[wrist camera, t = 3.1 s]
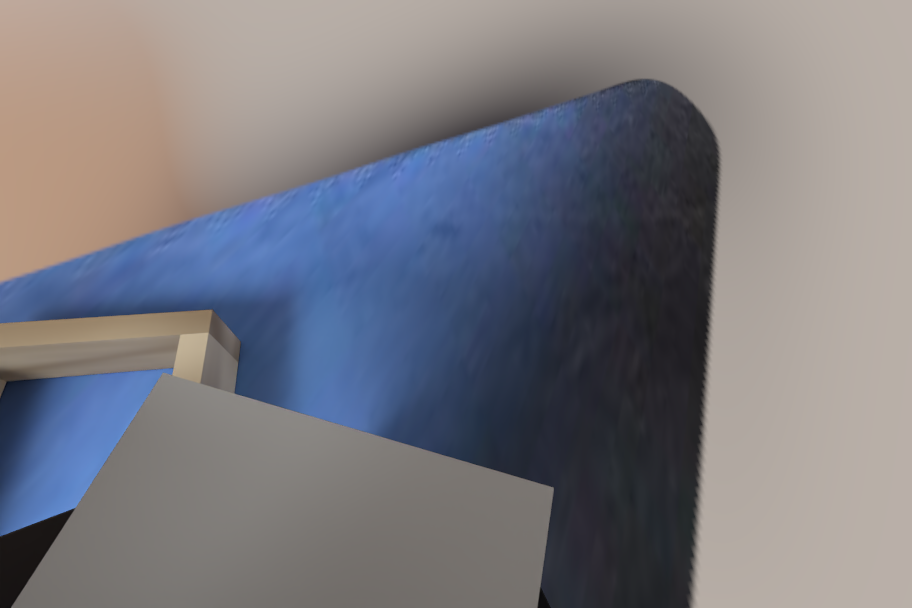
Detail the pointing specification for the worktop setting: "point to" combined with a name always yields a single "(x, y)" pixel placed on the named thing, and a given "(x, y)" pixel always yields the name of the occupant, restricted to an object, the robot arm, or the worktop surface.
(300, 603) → the white plug
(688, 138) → the worktop surface
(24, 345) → the bay
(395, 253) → the worktop surface
